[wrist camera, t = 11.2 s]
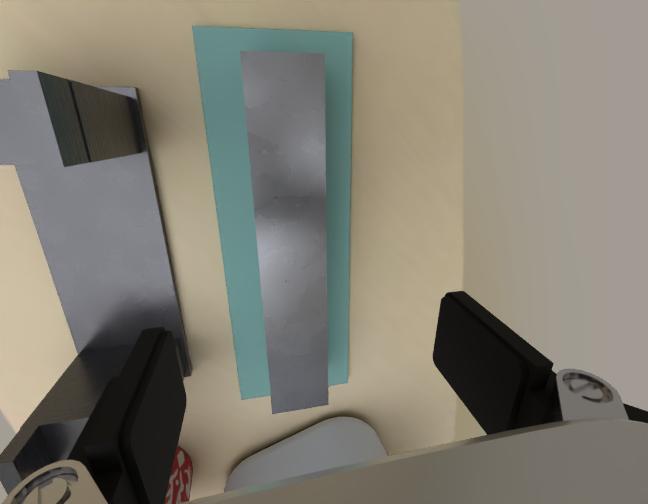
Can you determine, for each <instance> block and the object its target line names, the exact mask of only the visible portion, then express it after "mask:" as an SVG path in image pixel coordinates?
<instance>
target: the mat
mask: <svg viewBox="0 0 648 504" xmlns="http://www.w3.org/2000/svg"><path fill="white" fill-rule="evenodd" d="M192 28H193V35H194V43H195V50H196V58H197V66H198V73H199V81H200V88H201V96H202V104H203V111H204V119H205V126H206V134H207V142H208V149H209V157H210V164H211V172H212V179H213V187H214V195H215V202H216V210H217V217H218V225H219V233H220V240H221V248H222V255H223V263H224V271H225V278H226V286H227V293H228V301H229V309H230V316H231V324H232V331H233V339H234V346H235V354H236V362H237V369H238V377H239V384H240V392H241V400H244V399H250V398H256V397H263V396H269V395H271V393H270V382H269V371H268V360H267V349H266V338H265V326H264V315H263V304H262V293H261V282H260V271H259V259H258V248H257V237H256V226H255V215H254V204H253V193H252V181H251V170H250V159H249V148H248V137H247V126H246V115H245V103H244V92H243V81H242V70H241V59H240V51H261V52H295V53H325V138H326V230H327V322H328V386H331V385H338V384H344V383H348V323H349V252H350V181H351V111H352V40H353V33H351V32H327V31H303V30H279V29H255V28H231V27H207V26H192Z"/></svg>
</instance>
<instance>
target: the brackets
mask: <svg viewBox="0 0 648 504" xmlns="http://www.w3.org/2000/svg"><path fill="white" fill-rule="evenodd" d="M8 73H9V76H10V79H0V165H15V168H16V171H17V174H18V177H19V180H20V183H21V186H22V189H23V192H24V195H25V198H26V201H27V204H28V207H29V210H30V213H31V216H32V218H33V221H34V224H35V227H36V230H37V233H38V236H39V239H40V242H41V245H42V248H43V251H44V254H45V257H46V260H47V263H48V266H49V269H50V272H51V275H52V278H53V281H54V284H55V287H56V290H57V293H58V296H59V299H60V302H61V305H62V308H63V311H64V314H65V317H66V320H67V323H68V326H69V329H70V332H71V335H72V338H73V341H74V344H75V347H76V350H77V352H78V356H77V357H76V358H75V359H74V361H73V362H72V363H71V364H70V366H69V367H68V368H67V370H66V371H65V372H64V373H63V375H62V376H61V377H60V378H59V380H58V381H57V382H56V383H55V385H54V386H53V387H52V389H51V390H50V391H49V392H48V394H47V395H46V396H45V397H44V399H43V400H42V401H41V402H40V404H39V405H38V406H37V408H36V409H35V410H34V411H33V413H32V414H31V415H30V416H29V418H28V419H27V420H26V421H25V423H24V424H23V425H22V427H21V428H20V430H19V432H18V433H17V434H16V435H15V437H14V438H13V439H12V441H11V442H10V443H9V445H8V446H7V447H6V448H5V449H4V451H3V452H2V453H1V455H0V481H1V483H2V485H3V487H4V488H5V490H6V492H7V494H8V495H9V493H10V492H11V491H12V490H13V489H14V488H15V487H16V486H17V485H18V484H19V483H20V482H22V481H23V480H24V479H26V478H27V477H28V476H30V475H31V474H32V473H34V472H36V471H37V470H39V469H41V468H43V467H45V466H47V465H49V464H52V463H55V462H58V461H63V460H67V458H68V456H69V454H70V452H71V451H72V449H73V447H74V445H75V443H76V441H77V439H78V438H79V436H80V434H81V432H82V430H83V428H84V426H85V425H86V423H87V421H88V419H89V417H90V415H91V413H92V412H93V410H94V408H95V406H96V404H97V402H98V400H99V399H100V397H101V395H102V393H103V391H104V389H105V387H106V386H107V384H108V382H109V381H110V379H111V378H113V377H115V376H119V375H120V373H121V371H122V369H123V367H124V365H125V363H126V361H127V359H128V357H129V355H130V353H131V351H132V349H133V347H134V345H135V344H136V342H137V340H138V338H139V336H140V334H141V332H142V330H143V329H148V328H156V327H164V328H165V330H166V331H171V332H172V334H173V339H174V343H175V348H176V352H177V357H178V361H179V366H180V370H181V375H182V379H183V380H184V377H188V376H191V374H192V368H191V363H190V358H189V353H188V347H187V342H186V337H185V332H184V327H183V321H182V316H181V311H180V306H179V301H178V295H177V290H176V285H175V280H174V275H173V269H172V264H171V259H170V254H169V249H168V243H167V238H166V233H165V228H164V223H163V217H162V212H161V207H160V202H159V197H158V191H157V186H156V181H155V176H154V171H153V165H152V160H151V155H150V150H149V145H148V139H147V134H146V129H145V124H144V119H143V113H142V108H141V103H140V98H139V93H138V88H135V87H93V86H90V85H86V84H83V83H79V82H76V81H72V80H67V79H64V78H60V77H57V76H53V75H49V74H46V73H42V72H39V71H13V70H8Z"/></svg>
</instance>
